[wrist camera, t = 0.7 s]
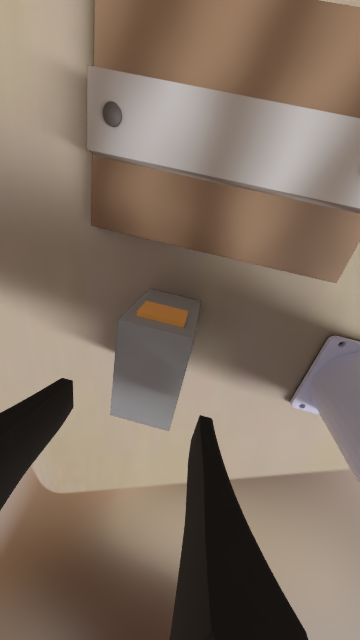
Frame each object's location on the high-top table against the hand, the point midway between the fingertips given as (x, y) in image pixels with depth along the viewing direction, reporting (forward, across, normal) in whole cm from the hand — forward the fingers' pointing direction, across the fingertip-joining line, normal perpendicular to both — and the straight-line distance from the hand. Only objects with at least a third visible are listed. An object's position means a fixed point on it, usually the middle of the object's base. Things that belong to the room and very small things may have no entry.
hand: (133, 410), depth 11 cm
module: (+9, 0, 0) cm, 9 cm away
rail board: (+9, -2, -14) cm, 17 cm away
